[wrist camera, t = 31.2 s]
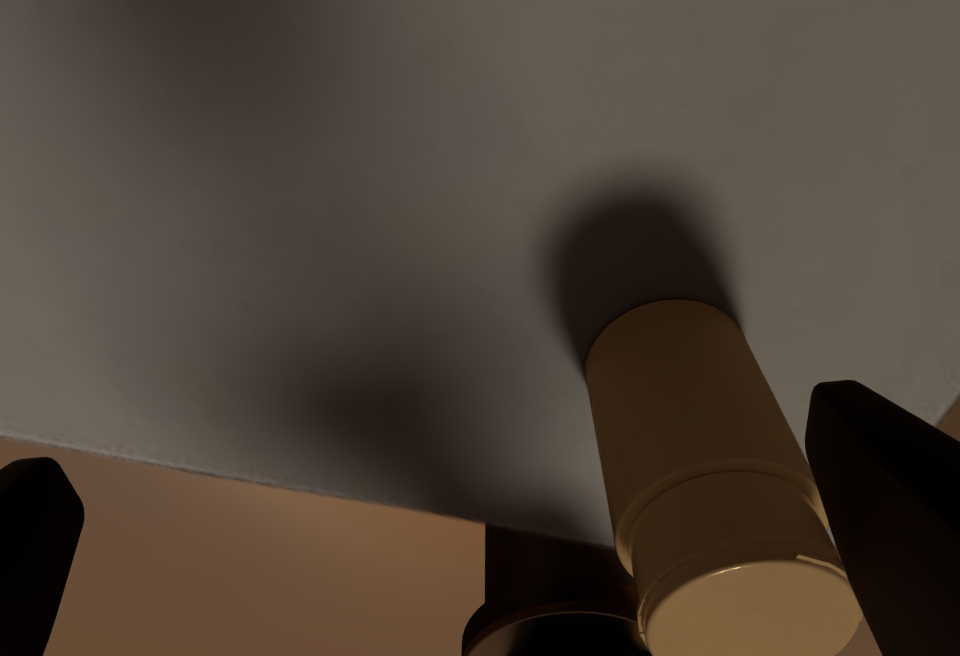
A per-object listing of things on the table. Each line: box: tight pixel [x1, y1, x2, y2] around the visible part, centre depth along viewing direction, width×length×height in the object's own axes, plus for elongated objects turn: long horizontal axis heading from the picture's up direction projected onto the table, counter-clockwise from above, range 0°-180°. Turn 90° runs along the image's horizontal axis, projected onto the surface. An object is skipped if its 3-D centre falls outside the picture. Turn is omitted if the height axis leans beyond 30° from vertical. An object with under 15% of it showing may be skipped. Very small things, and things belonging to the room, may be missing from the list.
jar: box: [585, 299, 863, 656], centre depth 20 cm, size 5×5×10 cm
